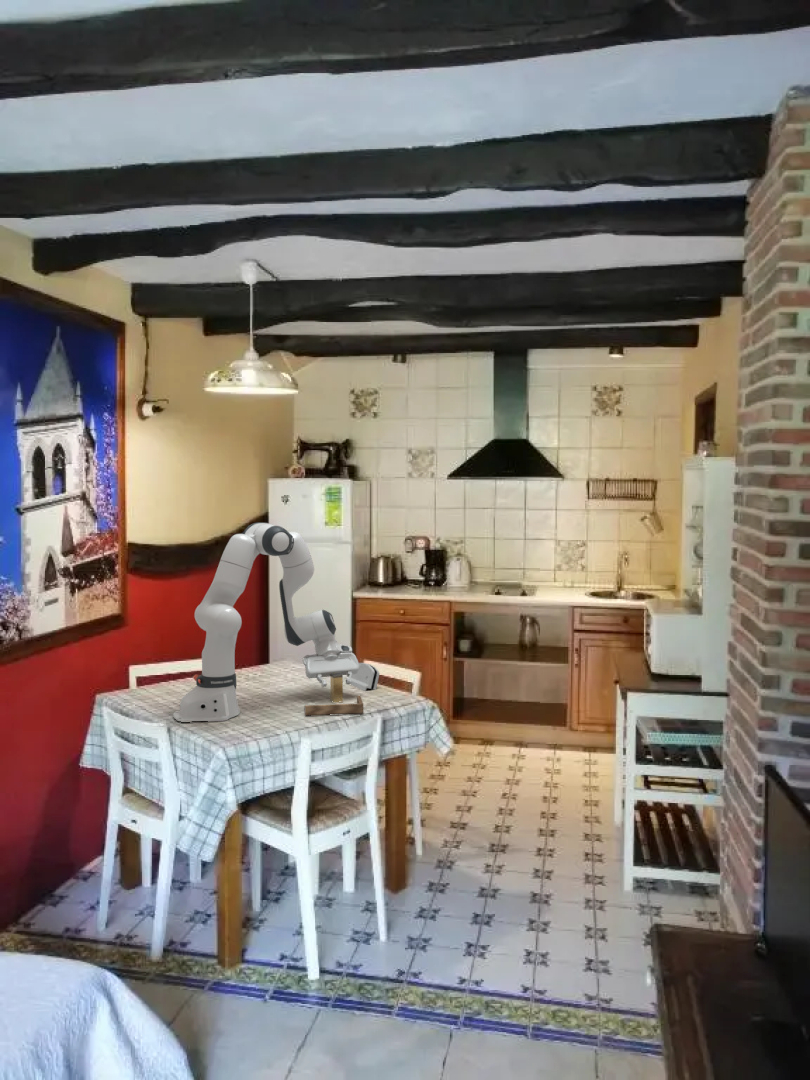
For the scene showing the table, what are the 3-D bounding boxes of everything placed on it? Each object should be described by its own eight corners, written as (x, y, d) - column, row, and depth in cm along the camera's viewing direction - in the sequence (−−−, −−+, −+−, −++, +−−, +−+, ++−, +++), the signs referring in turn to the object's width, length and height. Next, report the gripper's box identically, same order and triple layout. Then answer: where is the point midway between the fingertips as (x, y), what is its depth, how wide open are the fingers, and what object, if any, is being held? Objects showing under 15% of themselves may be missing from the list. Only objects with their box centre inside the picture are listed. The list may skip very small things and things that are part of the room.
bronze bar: (333, 703, 317) (333, 675, 316) (330, 700, 320) (330, 674, 320) (342, 702, 318) (342, 675, 318) (339, 699, 322) (339, 673, 321)
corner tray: (305, 716, 299) (305, 706, 299) (304, 707, 311) (304, 697, 311) (363, 714, 302) (363, 704, 302) (360, 705, 314) (360, 695, 314)
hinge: (344, 682, 349) (351, 658, 350) (354, 685, 351) (361, 661, 352) (364, 691, 335) (372, 666, 336) (375, 693, 337) (382, 668, 338)
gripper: (303, 650, 321) (311, 682, 313) (355, 646, 329) (364, 677, 321) (299, 660, 325) (307, 692, 317) (351, 656, 333) (360, 686, 325)
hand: (336, 684), depth 319 cm, fingers open, 8 cm apart
